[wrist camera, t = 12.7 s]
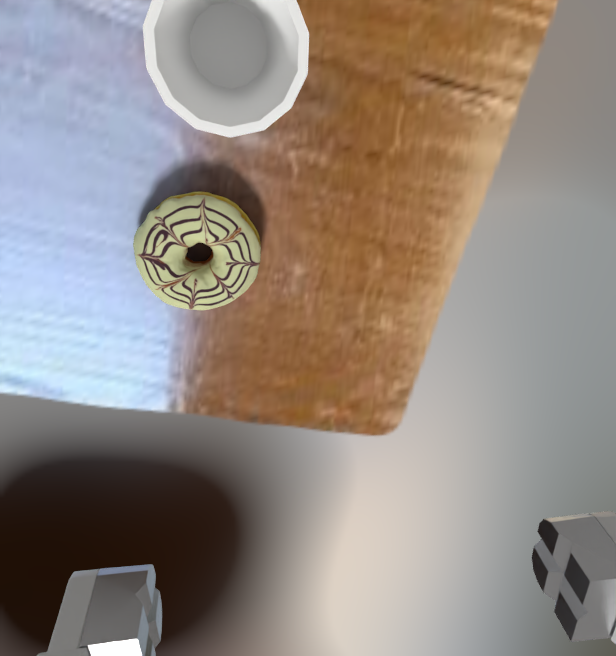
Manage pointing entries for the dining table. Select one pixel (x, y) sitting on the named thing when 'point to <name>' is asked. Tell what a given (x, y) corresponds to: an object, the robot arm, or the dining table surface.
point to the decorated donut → (185, 231)
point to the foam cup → (227, 60)
